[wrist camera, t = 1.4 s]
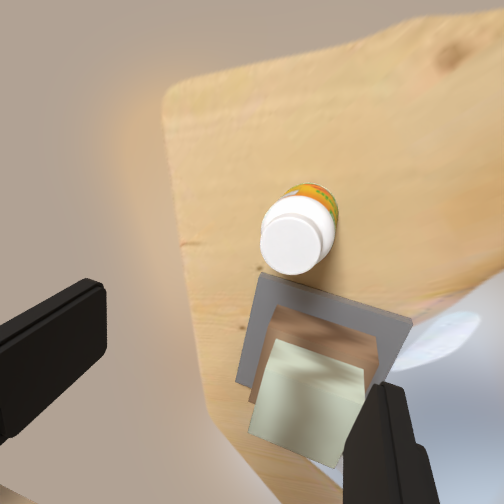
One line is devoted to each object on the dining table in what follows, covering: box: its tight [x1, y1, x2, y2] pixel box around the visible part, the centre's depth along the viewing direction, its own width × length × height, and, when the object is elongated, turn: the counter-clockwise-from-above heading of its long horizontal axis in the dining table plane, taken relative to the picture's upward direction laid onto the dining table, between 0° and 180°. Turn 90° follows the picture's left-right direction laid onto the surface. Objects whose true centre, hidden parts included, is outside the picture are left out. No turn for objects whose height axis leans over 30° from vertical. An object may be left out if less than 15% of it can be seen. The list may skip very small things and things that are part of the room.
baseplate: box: [235, 272, 413, 400], centre depth 33 cm, size 15×15×1 cm
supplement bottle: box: [260, 183, 338, 275], centre depth 24 cm, size 5×5×10 cm
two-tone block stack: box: [248, 304, 379, 469], centre depth 29 cm, size 10×10×8 cm
